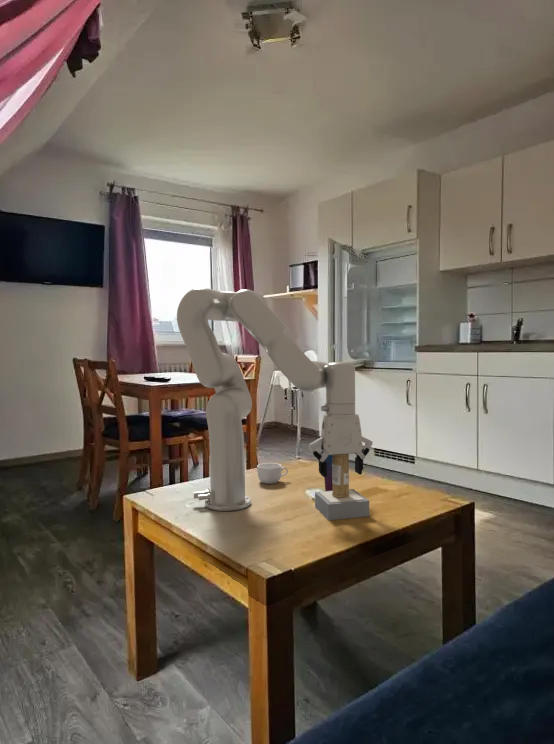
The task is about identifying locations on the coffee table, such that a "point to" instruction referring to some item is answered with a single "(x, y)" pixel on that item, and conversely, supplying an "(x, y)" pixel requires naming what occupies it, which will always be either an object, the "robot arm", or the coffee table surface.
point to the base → (342, 505)
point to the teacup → (270, 472)
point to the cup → (329, 474)
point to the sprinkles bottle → (340, 475)
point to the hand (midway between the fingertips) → (341, 474)
